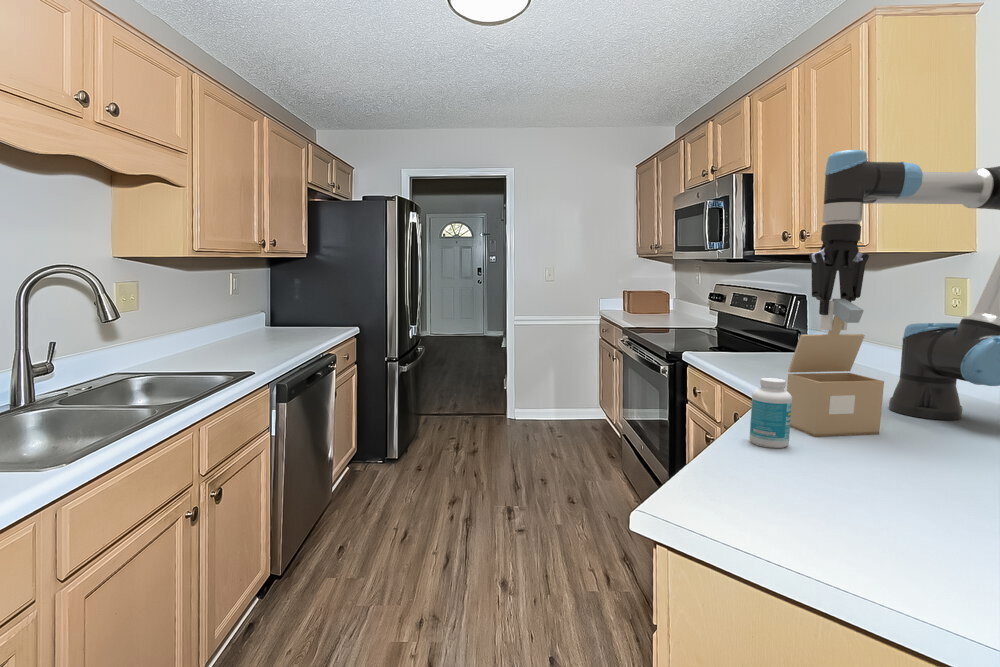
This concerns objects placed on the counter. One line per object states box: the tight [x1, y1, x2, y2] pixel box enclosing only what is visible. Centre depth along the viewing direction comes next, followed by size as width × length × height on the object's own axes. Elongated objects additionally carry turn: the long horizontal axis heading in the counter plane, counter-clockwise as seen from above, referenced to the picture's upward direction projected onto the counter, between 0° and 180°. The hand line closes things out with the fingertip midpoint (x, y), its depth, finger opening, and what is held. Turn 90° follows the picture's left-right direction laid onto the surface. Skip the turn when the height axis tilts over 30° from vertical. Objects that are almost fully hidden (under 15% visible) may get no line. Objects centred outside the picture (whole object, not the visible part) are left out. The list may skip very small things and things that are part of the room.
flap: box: [787, 298, 865, 373], centre depth 130 cm, size 16×18×6 cm
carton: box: [786, 372, 885, 438], centre depth 130 cm, size 16×10×12 cm, turn 100°
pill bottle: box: [749, 377, 792, 449], centre depth 119 cm, size 8×7×14 cm
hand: (833, 329), depth 130 cm, fingers closed on flap, 3 cm apart
